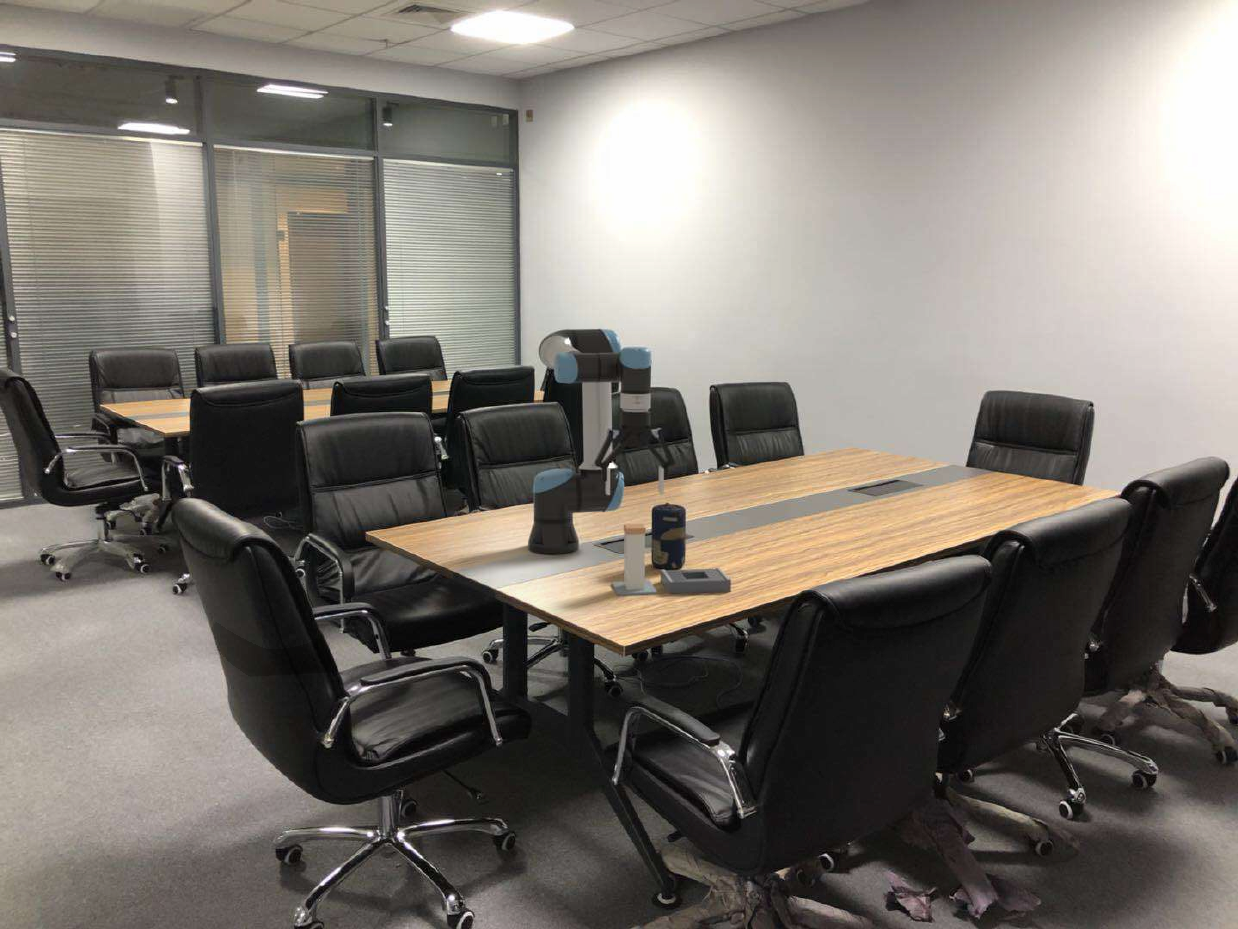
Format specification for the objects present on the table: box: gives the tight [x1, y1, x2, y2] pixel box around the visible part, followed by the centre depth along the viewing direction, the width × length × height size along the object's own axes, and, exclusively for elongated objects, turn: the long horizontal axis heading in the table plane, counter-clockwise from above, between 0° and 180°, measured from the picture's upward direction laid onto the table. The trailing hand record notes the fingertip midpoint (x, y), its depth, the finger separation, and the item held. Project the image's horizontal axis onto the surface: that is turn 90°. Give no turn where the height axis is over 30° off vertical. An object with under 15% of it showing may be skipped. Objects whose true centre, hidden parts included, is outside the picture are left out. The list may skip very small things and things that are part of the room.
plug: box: [623, 523, 647, 590], centre depth 247 cm, size 5×5×16 cm
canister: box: [650, 502, 687, 570], centre depth 269 cm, size 10×10×18 cm
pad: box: [611, 579, 658, 596], centre depth 249 cm, size 10×10×1 cm
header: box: [660, 566, 732, 595], centre depth 251 cm, size 16×11×3 cm
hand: (634, 493), depth 245 cm, fingers open, 13 cm apart
